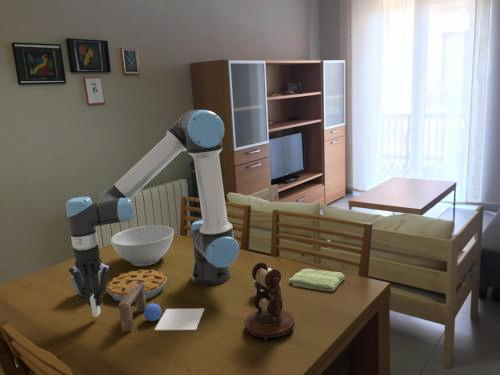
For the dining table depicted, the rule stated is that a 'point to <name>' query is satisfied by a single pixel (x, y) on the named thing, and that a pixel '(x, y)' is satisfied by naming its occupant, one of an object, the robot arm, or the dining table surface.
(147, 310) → the ball
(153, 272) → the pie
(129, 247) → the decorative bowl
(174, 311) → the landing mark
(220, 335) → the dining table surface
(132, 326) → the bridge
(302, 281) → the washcloth
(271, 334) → the brown wooden tall piece
